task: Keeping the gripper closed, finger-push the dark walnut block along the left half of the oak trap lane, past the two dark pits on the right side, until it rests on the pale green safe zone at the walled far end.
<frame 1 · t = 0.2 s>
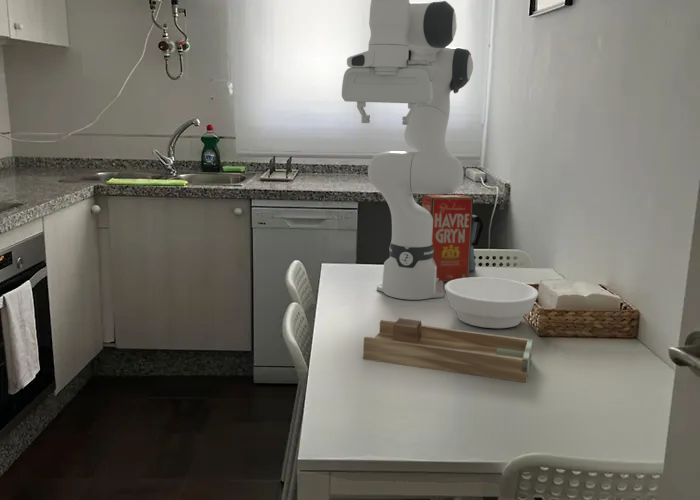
hand: (385, 123, 157), 47 cm above the table, fingers open, 8 cm apart
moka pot: (462, 270, 225), on the table
food packaging: (443, 279, 211), on the table, touching arm
bowl: (488, 321, 174), on the table
walnut block: (406, 340, 152), point 2 cm above the table, touching trap lane
trap lane: (447, 359, 147), on the table
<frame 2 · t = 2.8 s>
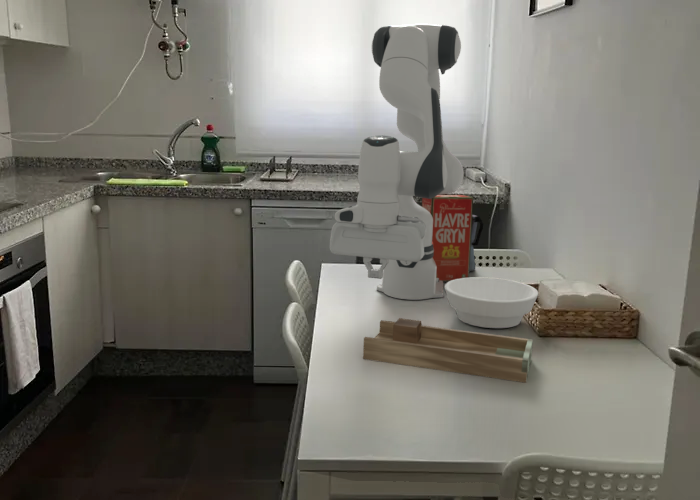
hand: (375, 277, 151), 15 cm above the table, fingers closed
nothing on the table moved.
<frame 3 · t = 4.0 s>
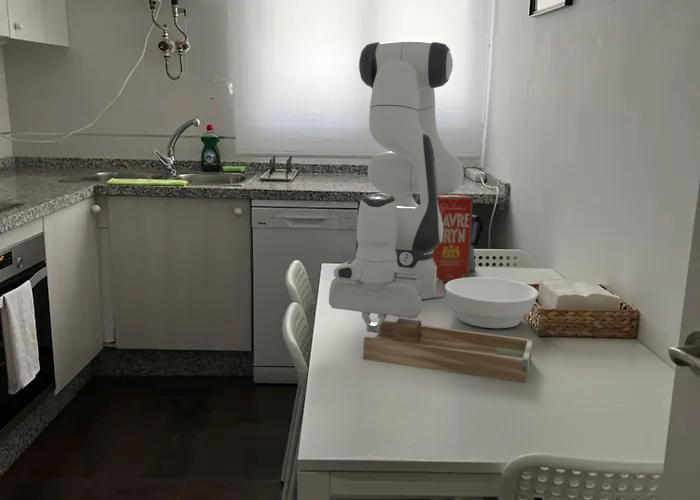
hand: (373, 331, 154), 3 cm above the table, fingers closed
nothing on the table moved.
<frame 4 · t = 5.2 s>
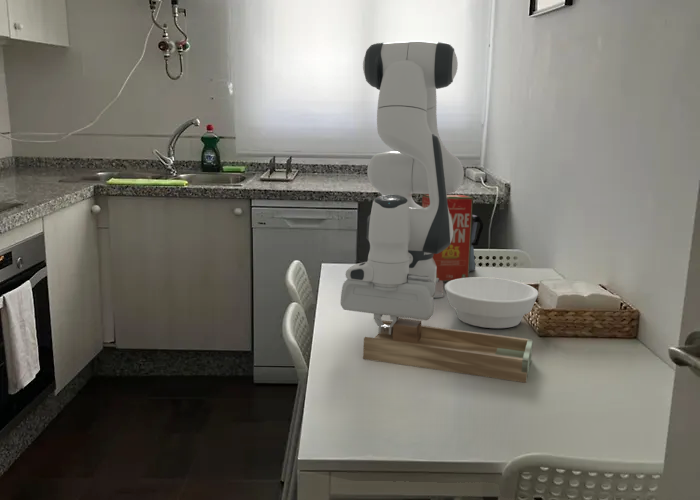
hand: (385, 333, 153), 3 cm above the table, fingers closed
walnut block: (406, 340, 152), point 2 cm above the table, touching gripper, trap lane
everything else where it was.
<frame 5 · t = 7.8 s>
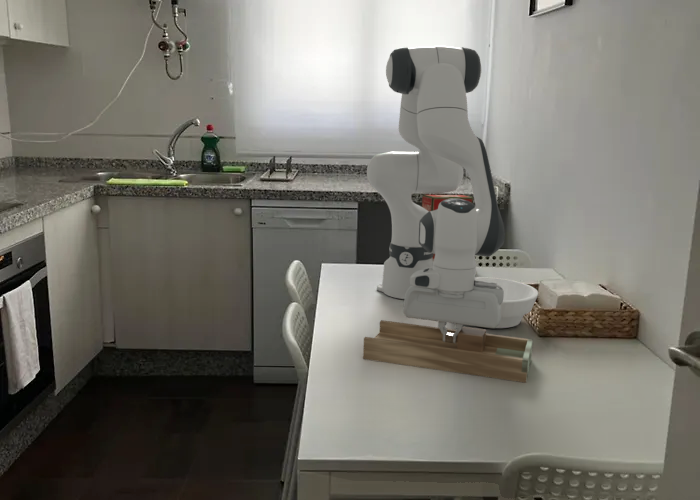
hand: (449, 342, 149), 3 cm above the table, fingers closed
walnut block: (471, 349, 148), point 2 cm above the table, touching gripper
everything else where it was.
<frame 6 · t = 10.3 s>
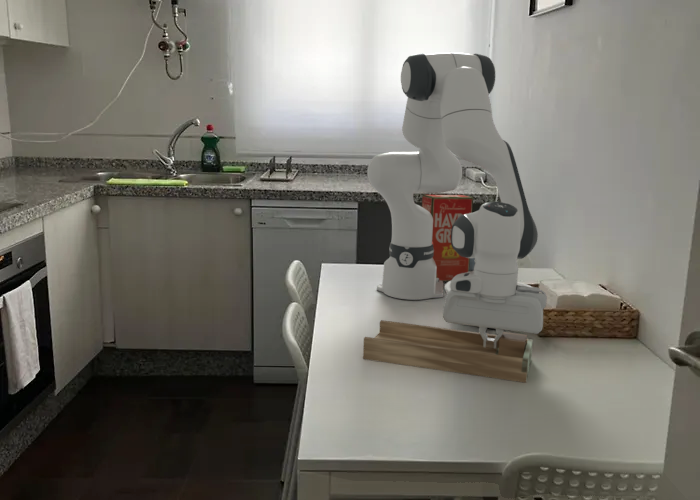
hand: (490, 347, 146), 3 cm above the table, fingers closed
walnut block: (512, 355, 145), point 2 cm above the table, touching gripper, trap lane
everything else where it was.
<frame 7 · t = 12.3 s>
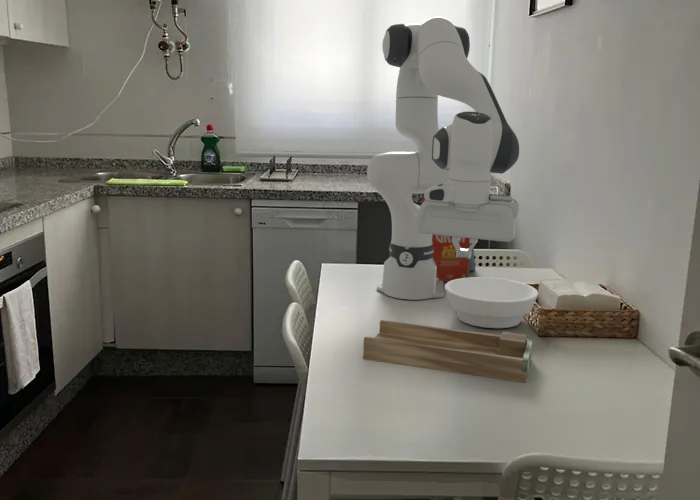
hand: (463, 257, 149), 21 cm above the table, fingers closed
walnut block: (512, 355, 145), point 2 cm above the table, touching trap lane
everything else where it was.
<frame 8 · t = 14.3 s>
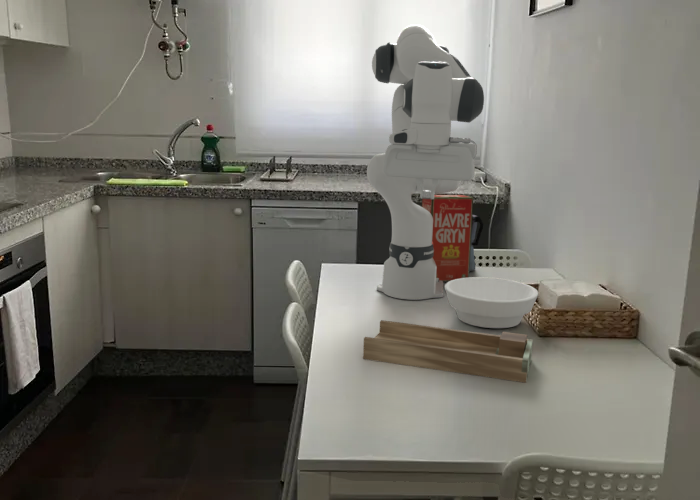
hand: (427, 198, 158), 31 cm above the table, fingers closed
nothing on the table moved.
at the end: walnut block 0.6 cm from the target spot on the trap lane, point 2.0 cm above the trap lane's base; walnut block tilted 0° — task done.
